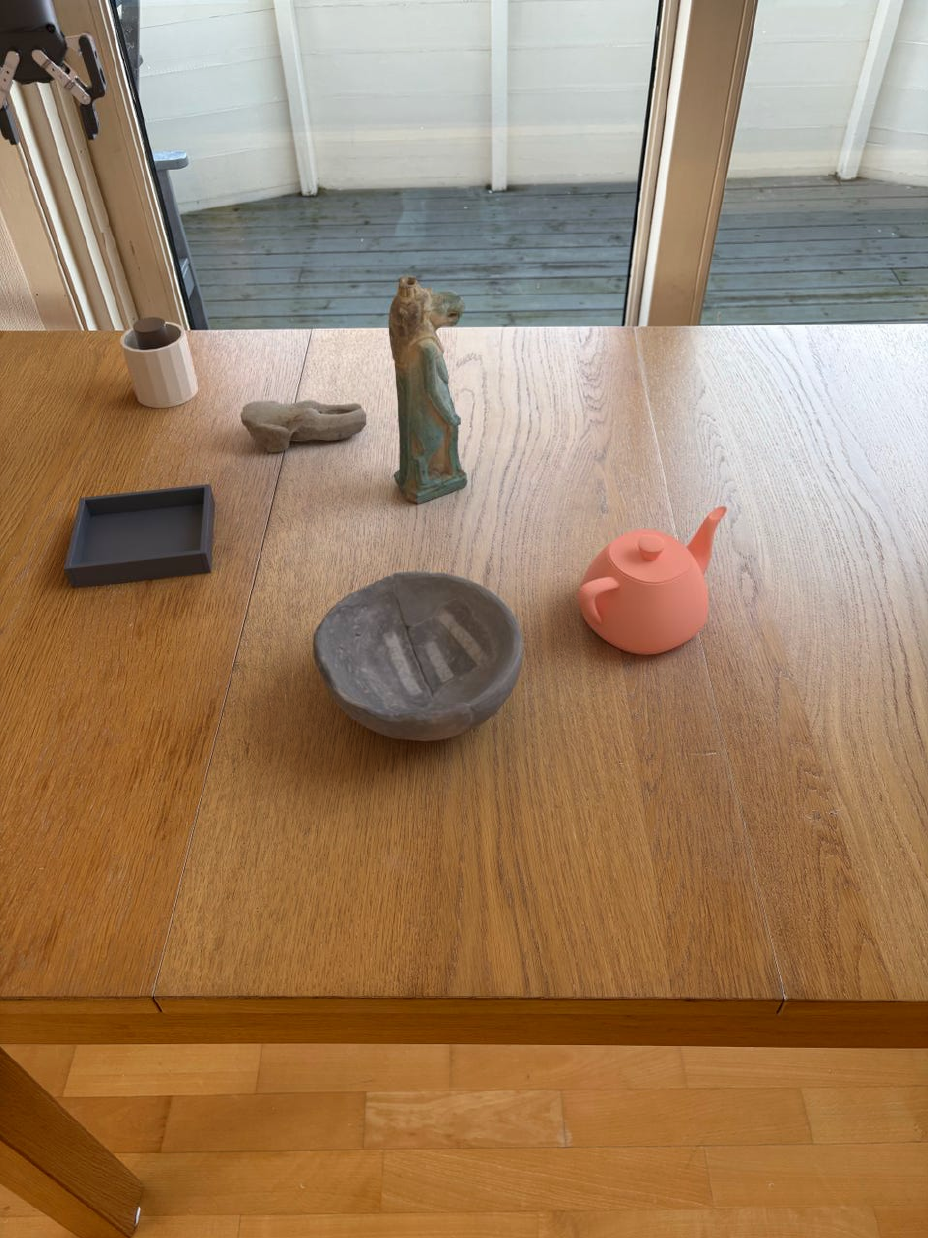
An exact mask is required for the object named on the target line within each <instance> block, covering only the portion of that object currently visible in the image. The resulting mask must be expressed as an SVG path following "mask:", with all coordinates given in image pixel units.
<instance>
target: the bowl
mask: <svg viewBox="0 0 928 1238" xmlns="http://www.w3.org/2000/svg"><path fill="white" fill-rule="evenodd" d="M312 639H313V641H312V645H313V646H312V651H313V652H312V653H313V655H312V656H313V660H314V664H315V666H316V668H317V672H318V674H319V676H320V678H321V680H322V682H323V685H324V687H325V689H326V691H327V692H328V694H329V695H330V697H331V699H332V700H333V702H334V703H335V704H336V705H337V706H338V707H339V708H340V709H341V710H342V711H343V712H344V713H345V714H346V715H347V716H348V717H350V718H351V720H354V721H356V722H357V723H359V724H360V725H362V726H363V727H365V728H367V729H369V730H371V731H373V732H375V733H377V734H379V735H381V736H384V737H387V738H390V739H391V738H392V739H394V740H395V739H396V740H406V741H407V740H408V741H421V742H432V741H441V740H445V739H449V738H453V737H456V736H458V735H461V734H463V733H464V734H465V733H467V732H470V731H471V730H473V729H475V728H477V727H479V726H480V725H482V724H484V723H486V722H487V721H489V720H490V719H491V718H492V717H493V716H494V715H495V714H496V713H497V712H498V711H499V710H500V709H501V708H502V707H503V705H504V704H505V703H506V701H507V700H508V698H509V697H510V696H511V694H512V693H513V690H514V688H515V686H516V685H517V682H518V681H519V676H520V673H521V669H522V666H523V659H524V658H523V657H524V639H523V633H522V629H521V625H520V622H519V621H518V618H517V617H516V616H515V614H514V613H513V611H512V610H511V608H510V607H509V606H508V604H506V602H505V601H503V600H502V599H501V598H500V597H498V596H497V595H496V594H495V593H494V592H492V591H491V590H490V589H488V588H486V587H485V586H483V585H481V584H480V583H477V582H475V581H472V580H469V579H468V578H465V577H462V576H458V575H455V574H452V573H447V572H442V571H441V572H440V571H439V572H438V571H435V572H430V571H401V572H393V573H392V574H391V575H388V576H384V577H383V578H381V579H378V580H376V581H375V582H373V583H371V584H368V585H365V586H363V587H361V588H359V589H356V590H355V591H353V592H351V593H349V594H347V595H346V596H344V597H342V599H341V600H339V601H338V602H337V603H336V604H334V606H332V607H331V608H330V609H328V611H327V613H326V614H325V615H324V617H323V618H322V620H321V621H320V622H319V624H318V625H317V627H316V629H315V631H314V633H313V638H312Z"/></svg>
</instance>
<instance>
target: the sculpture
mask: <svg viewBox="0 0 928 1238" xmlns="http://www.w3.org/2000/svg"><path fill="white" fill-rule="evenodd" d="M240 419H241V420H240V421H241V423H242V425H243V426H244V427H245V428H246V430H247V431H248V433H249V435H250V437H251V438H252V439H253V440H254V441H256V442H257V443H259V444H260V445H262V446H264V447H265V448H266V450H267V451H268V452H271V453H280V452H281V453H282V452H286V451H287V450H288V449H289V447H290V442H307V441H311V440H317V441H337V440H338V441H339V440H345V439H350V438H352V437H354V436H356V435H358V434H359V433H362V432H363V430H364V428H365V427H366V425H367V413H366V411H365V410H364V408H363V407H362V405H361V404H360V403H357V402H352V403H347V404H327V403H321V402H318V401H317V400H313V399H307V400H301V401H297V402H293V403H281V402H279V401H278V400H277V401H276V400H254V401H251V402H249V403H247V404H245V405H244V406H243V407H242V411H241V412H240Z"/></svg>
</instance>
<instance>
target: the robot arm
mask: <svg viewBox="0 0 928 1238" xmlns="http://www.w3.org/2000/svg"><path fill="white" fill-rule="evenodd" d="M69 49H71V50H72V51H73V52H74V54H75V55H76V56H77V58H79V59H83V63H84V65H85V68H86V71H87V74H88V79H89V81H90V85H87V83H85V82H84V81H83V80H82V78H81V77H80V76H79V75H78V74H77V72H76V71H75V69H73V68H72V67H71V66H70V65H69V64H68V63H67V62H66V61H65V57H66V55H67V53H68V50H69ZM0 69H1V71H0V134H1V136H2V137H3V139H4V140H5V141H7V140H8V141H9V144H10V146H18V145H19V144H20V142H21V137H20V133H19V130H18V127H17V124H16V121H15V117H14V113H13V111H12V108H11V104H8V103H7V100H8V97H9V94H10V91H11V89H12V86H13V85H14V83H15V82H17V83H19V84H20V85H21V86H25V85H31V84H34V83H39V84H51V83H52V82H53V81H57V83H58V84H59V85H60V86H61V87H62V88H63V89H65V90H67V91H68V92H69V93H70V94H71V95H73V96H74V97H75V98H76V100H78V102H79V105H78V109H79V112H80V116H81V120H82V123H83V126H84V127H83V128H84V130H85V131H84V132H85V134H86V138H87V140H88V141H96V138H97V135H99V132H100V127H101V124H100V121H99V117H98V113H97V109H96V105H95V101H96V100H98V99H99V98H104V97H105V95H106V92H107V91H108V83H107V79H106V76H105V73H104V70H103V66H102V63H101V59H100V56H99V53H98V50H97V47H96V43H95V40H94V37H93V35H92V33H91V32H90V31H88V30H87V31H86V30H85V31H82V32H81V33H80V34H75V35H65V34H64V33H63V31H62V30H61V28H60V26H59V22H58V18H57V14H56V12H55V8H54V4H53V0H0Z"/></svg>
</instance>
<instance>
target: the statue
mask: <svg viewBox="0 0 928 1238" xmlns="http://www.w3.org/2000/svg"><path fill="white" fill-rule="evenodd" d="M397 281H398V288H397V293H396V294H395V296H394V297H393V298H392V301H391V303H390V307H389V313H388V314H389V315H388V337H389V346H390V351H391V356H392V359H393V361H394V372H395V387H396V397H397V398H396V399H397V422H398V434H399V435H398V438H399V461H398V463H399V464H398V465H399V467H398V469H397V470H396V471H395V472H394V474H393V478H394V481H395V483H396V484H397V486H398V488H399V490H400V492H401V493H402V494H403V496H404V498H405V499H406V500H407V501H408V502H411V503H415V504H417V505H419V504H423V503H425V502H428V501H430V500H434V499H436V498H439V497H442V496H444V495H446V494H447V495H448V494H449V493H452V492H455V491H458V490H460V489H463V488H465V487H467V484H468V477H467V472H465V470H464V469H463V467H462V464H461V461H460V455H459V433H460V430H459V427H460V425H461V424H462V418H461V416H459V415H458V414H457V412H456V408H455V404H454V401H453V399H452V396H451V392H450V388H449V379H450V375H449V372H448V368H447V364H446V360H445V359H444V358H445V357H444V353H445V347H444V345H443V344H442V342H441V340H440V338H439V336H438V334H437V331H438V329H440V328H442V327H454V326H457V325H458V323H459V322H461V317H462V316H463V312H464V311H465V309H466V304H465V301H464V299H463V297H462V296H461V295H459V294H458V293H457V292H455V291H454V290H452V289H447V290H444V291H439V292H438V293H436V292H435V291H434V288H433V287H431V286H427V287H425V288H421V286H420V284H419V281H418V277H416V276H415V275H403V276H400V277H399V278H397Z"/></svg>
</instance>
